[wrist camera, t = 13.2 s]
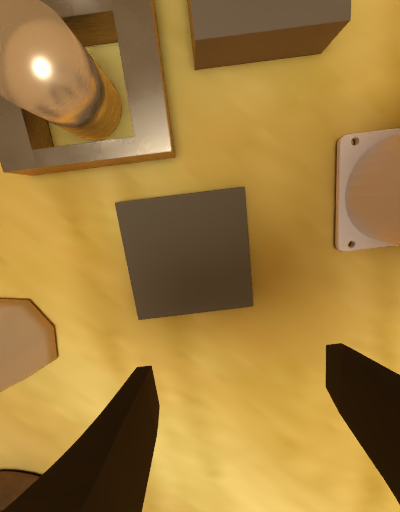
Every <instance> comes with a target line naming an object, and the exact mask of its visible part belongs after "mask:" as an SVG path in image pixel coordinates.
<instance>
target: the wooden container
mask: <svg viewBox="0 0 400 512" xmlns="http://www.w3.org/2000/svg"><path fill="white" fill-rule="evenodd" d="M39 477H40V476H36V475H33V474H28V473H23V472H15V471H0V512H1V511H2V510H4V509H5V508H6V507H7V506H8V505H9V504H11V503H12V502H13V501H14V500H15V499H16V498H17V497H19V496H20V495H21V494H22V493H23V492H24V491H25V490H26V489H27V488H28V487H30V486H31V485H32V484H33V483H34V482H35V481H36V480H37V479H38V478H39Z"/></svg>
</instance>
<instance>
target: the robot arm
mask: <svg viewBox="0 0 400 512" xmlns="http://www.w3.org/2000/svg"><path fill="white" fill-rule="evenodd" d="M352 139H354V140H355V145H354V146H353V145H352V144H351V141H352ZM350 241H351V242H352V244H351V246H349V247H348V243H349V242H350ZM395 245H399V246H400V128H394V129H386V130H378V131H370V132H362V133H354V134H347V135H344V136H342V137H341V138H339V140H338V142H337V178H336V231H335V246H336V249H337V250H339V251H342V252H345V251H354V250H362V249H370V248H378V247H387V246H395ZM326 388H327V390H328V392H329V394H330V396H331V398H332V400H333V402H334V404H335V406H336V407H337V409H338V411H339V413H340V414H341V416H342V418H343V419H344V421H345V422H346V424H347V425H348V427H349V428H350V430H351V431H352V433H353V434H354V436H355V437H356V439H357V440H358V441H359V443H360V444H361V446H362V447H363V449H364V450H365V452H366V453H367V455H368V456H369V458H370V459H371V461H372V462H373V464H374V465H375V467H376V468H377V469H378V471H379V472H380V474H381V475H382V477H383V478H384V480H385V481H386V483H387V485H388V486H389V488H390V489H391V491H392V492H393V494H394V496H395V497H396V499H397V501H398V502H399V504H400V375H399V374H397V373H395V372H393V371H391V370H389V369H388V368H386V367H384V366H382V365H380V364H379V363H377V362H375V361H373V360H371V359H370V358H368V357H366V356H364V355H362V354H361V353H359V352H357V351H355V350H353V349H351V348H350V347H348V346H346V345H344V344H342V343H339V344H331V345H326ZM159 407H160V406H159V401H158V395H157V390H156V385H155V380H154V375H153V370H152V366H144V367H137V368H136V369H135V370H134V372H133V373H132V374H131V375H130V377H129V378H128V379H127V381H126V382H125V383H124V385H123V386H122V387H121V389H120V390H119V391H118V392H117V394H116V395H115V396H114V398H113V399H112V400H111V401H110V403H109V404H108V405H107V406H106V408H105V409H104V410H103V411H102V412H101V414H100V415H99V416H98V417H97V418H96V420H95V421H94V422H93V423H92V424H91V425H90V426H89V428H88V429H87V430H86V431H85V432H84V433H83V434H82V436H81V437H80V438H79V439H78V440H77V441H76V442H75V443H74V444H73V445H72V446H71V447H70V448H69V449H68V450H67V451H66V452H65V453H64V454H63V455H62V456H61V457H60V458H59V459H58V460H57V461H56V462H55V463H54V464H53V465H52V466H51V467H50V468H49V469H48V470H47V471H46V472H45V473H44V474H43V475H42V476H41V477H39V478H38V479H37V480H36V481H35V482H34V483H33V484H32V485H31V486H30V487H28V488H27V489H26V490H25V491H24V492H23V493H22V494H21V495H20V496H19V497H17V498H16V499H15V500H14V501H13V502H12V503H11V504H9V505H8V506H7V507H6V508H5V509H4V510H2V511H1V512H142V508H143V502H144V497H145V492H146V487H147V482H148V477H149V472H150V467H151V462H152V457H153V452H154V447H155V442H156V437H157V429H158V419H159Z"/></svg>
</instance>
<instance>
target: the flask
mask: <svg viewBox="0 0 400 512" xmlns="http://www.w3.org/2000/svg"><path fill="white" fill-rule="evenodd" d="M55 359H57V352H56V342H55V333H54V327H53V326H52V325H51V324H50V322H49V321H48V320H47V319H46V318H45V317H44V316H43V315H42V314H41V313H40V312H39V311H38V310H37V309H36V307H35V306H34V305H33V304H32V303H31V302H30V301H29V300H19V299H0V392H1V391H3V390H5V389H7V388H9V387H10V386H12V385H14V384H16V383H18V382H20V381H22V380H24V379H25V378H27V377H29V376H31V375H32V374H34V373H35V372H37V371H38V370H40V369H41V368H43V367H45V366H46V365H48V364H49V363H51V362H52V361H54V360H55Z"/></svg>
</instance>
